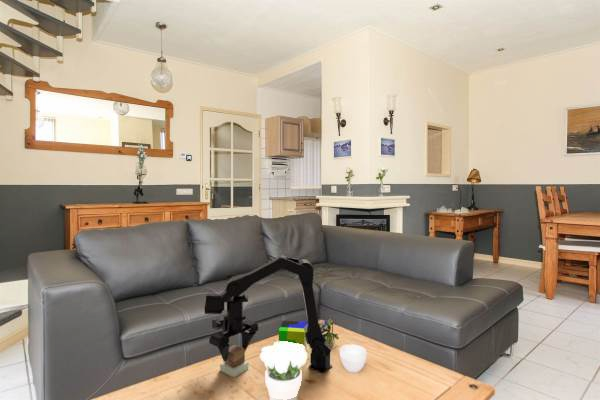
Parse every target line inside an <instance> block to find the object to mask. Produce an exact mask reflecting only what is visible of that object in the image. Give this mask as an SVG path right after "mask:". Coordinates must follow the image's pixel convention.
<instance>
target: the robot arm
mask: <svg viewBox="0 0 600 400" xmlns="http://www.w3.org/2000/svg"><path fill="white" fill-rule="evenodd" d="M313 267H314V266H313V265H312V263H311V262H310V261H309V260H308V259H306V258H301V259H298V258H293V257H288V256H286V255H279V256H277V257H276V258H273V259H272V260H270V261H268V262H267V263H264V264H263V265H261V266H259V267H258V268H255V269H252V271H250V272H246V273H240V274H238V275H234V276H232V277H230V278H229V280H228V281H227V285H226V288H225V289H224V290H223V292H222V293H221V294H212V293H207V294H206V296H205V302H204V303H205V304H204V314H205V315H221V314H223V312H225V311H226V315H224V316H223V317H222V318H219V317H217V318H214V319H212V320H211V326H212V329H214V330H215V329H216V331H218V332H215V333H212V334H211V335H210V336H209V337H208V339H209V340H208V343H209V345H213V346H214V347H217V349H218V351H219V353H220V356H221V359H222V360H223V361H222V362H226V360H227V356H228V351H229V348H230V347H231V346H230V344H229V343H230V339H231V338H233V337H235V336H237V335H240V336H241V347H242V348H244V349H245V352H246V351H247V349H248V347H249V345H250V343H251V342H252V339H253V337H254V336H255V335H256V333H257V332H258V331H259V325H258V323H257V321H256V322H255V321H253V320H249V319H247V320H246V315H244V303H248V302H249V296H247V295H246V294H245V291H247V290H248V289H249V288H251V286H253V285H254V284H255V283H258V282H259V281H261V280H263V279H265V278H267V277H269V276H271V275H273V274H275V273H276V272H279V271H280V270H282V269H283V270H285V271H287V272H290V273H292V274H296V275H297V277H298V279H299V281H300V284H301V287H302V293H303V300H304V306H305V313H306V319H307V326H304V330H305V338H306V345H309V348H310V349H311V352H310V358H309V359H310V361H309V362H310V363H309V365H308V368H309V369H311V370H314V371H316V372H319V373H321V374H324V373H326V371H328V370H329V369H331V368H332V367H333V364H331V351H332V350H331V348H330V344H328V342H327V340H326V339H325V338H324V337H323V334H324V333H323V334H322V332H321V329H320V326H319V325H320V323H319V322H318V320H319V319H318V311H317V307H316V301H315V299H316V298H315V293H314V288H313V287H314V285H313V284H314V268H313ZM219 330H222V331H223V332H226V333H222V332H220V331H219Z"/></svg>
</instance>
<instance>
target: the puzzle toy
mask: <svg viewBox="0 0 600 400" xmlns="http://www.w3.org/2000/svg"><path fill="white" fill-rule="evenodd" d="M307 324H308V321H294V320H282V321H281V324H280V326H279V329H278V342H279V341H288V342H293V343H299V344H303V345H304V346H305V348H306V347H307V342H306V338H305V330H304V326H307Z"/></svg>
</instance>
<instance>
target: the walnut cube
mask: <svg viewBox="0 0 600 400" xmlns="http://www.w3.org/2000/svg"><path fill="white" fill-rule="evenodd" d="M245 355H246V351H245V349H244V348H242V346H239V345H236V344H234V345H231V346H229V351H228V356H227V360H226V362H225V361H224V362H225V364H227V365H229V366H231V367H233V368H235V367H237V366H239V365H241V364H243V363H245V361H246V357H245Z"/></svg>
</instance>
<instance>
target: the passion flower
mask: <svg viewBox="0 0 600 400" xmlns="http://www.w3.org/2000/svg"><path fill="white" fill-rule="evenodd" d="M320 321H321V319H320V318H319V319H318V323H319V322H320ZM319 326H320V329H321V332H322V334H323V337H324V338H325V339H326V340H327V342H328V344H329V345H331V344H332V343H333V342H334V343H335V340H339V339H340V338H339V336H338V335H339V334H338V333H334V329H333V328H334V322H333V320H331V318H329V319H326V320H323V321H321V323H319Z"/></svg>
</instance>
